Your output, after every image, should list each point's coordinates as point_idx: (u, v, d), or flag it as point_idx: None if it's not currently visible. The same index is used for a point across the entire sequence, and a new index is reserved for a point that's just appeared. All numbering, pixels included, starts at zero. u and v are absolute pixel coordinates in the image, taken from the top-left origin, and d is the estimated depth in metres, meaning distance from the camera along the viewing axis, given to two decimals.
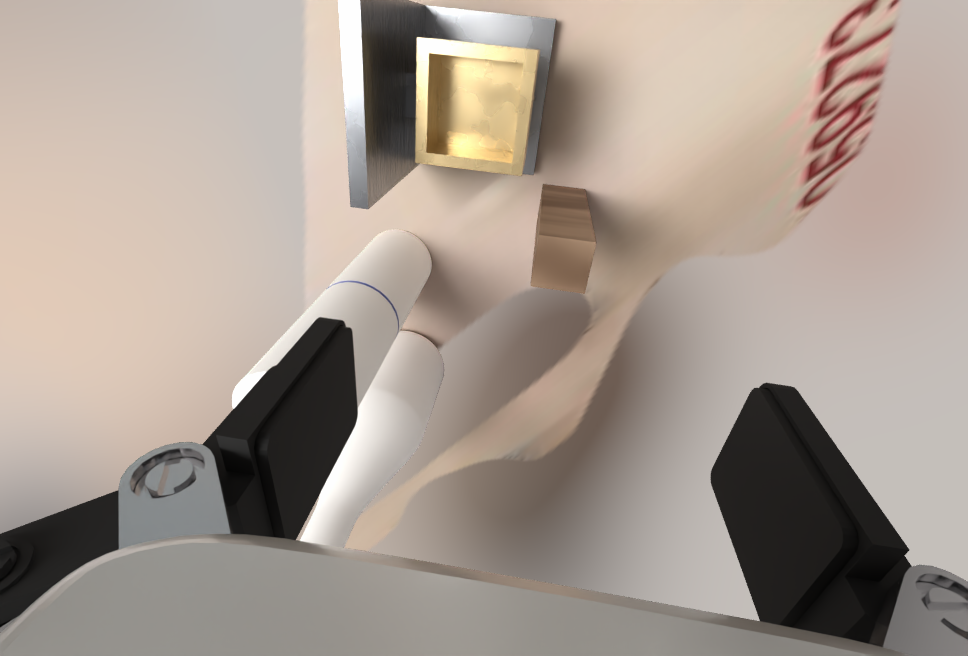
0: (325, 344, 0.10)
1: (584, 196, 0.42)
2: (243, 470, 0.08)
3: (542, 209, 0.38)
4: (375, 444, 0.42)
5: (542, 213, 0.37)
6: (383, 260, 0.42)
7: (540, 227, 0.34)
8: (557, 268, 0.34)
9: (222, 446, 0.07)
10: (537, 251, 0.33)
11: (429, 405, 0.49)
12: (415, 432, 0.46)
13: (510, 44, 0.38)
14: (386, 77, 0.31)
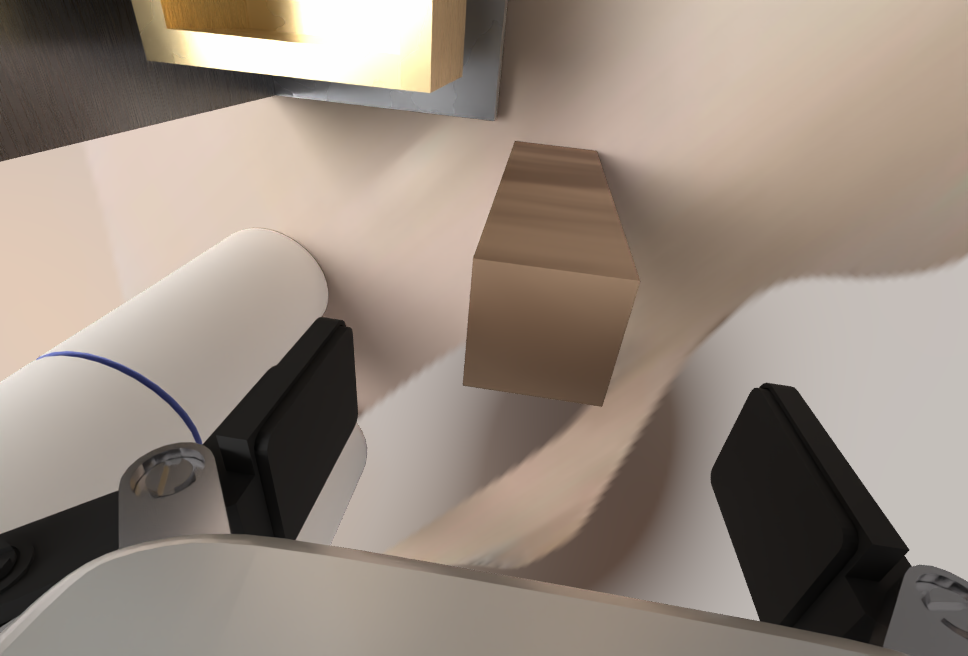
0: (325, 344, 0.10)
1: (596, 163, 0.21)
2: (243, 470, 0.08)
3: (501, 188, 0.16)
4: None
5: (499, 197, 0.15)
6: (190, 294, 0.21)
7: (484, 234, 0.13)
8: (530, 347, 0.12)
9: (222, 446, 0.07)
10: (473, 302, 0.12)
11: (322, 534, 0.28)
12: None
13: None
14: None
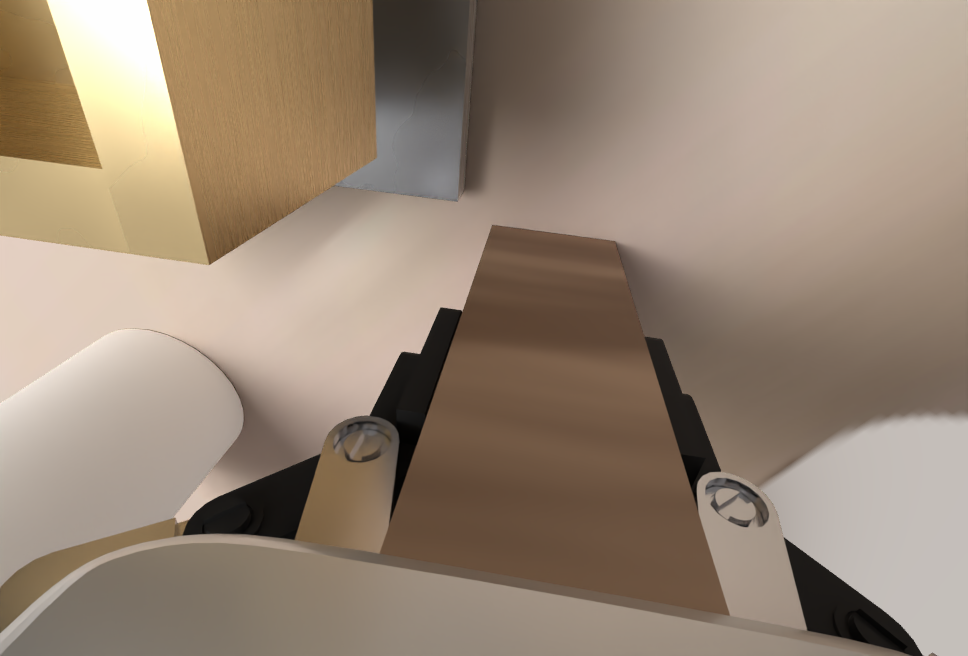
0: (454, 331, 0.11)
1: (617, 273, 0.13)
2: (414, 441, 0.08)
3: (449, 370, 0.09)
4: None
5: (438, 408, 0.08)
6: None
7: None
8: None
9: (399, 419, 0.08)
10: None
11: None
12: None
13: None
14: None
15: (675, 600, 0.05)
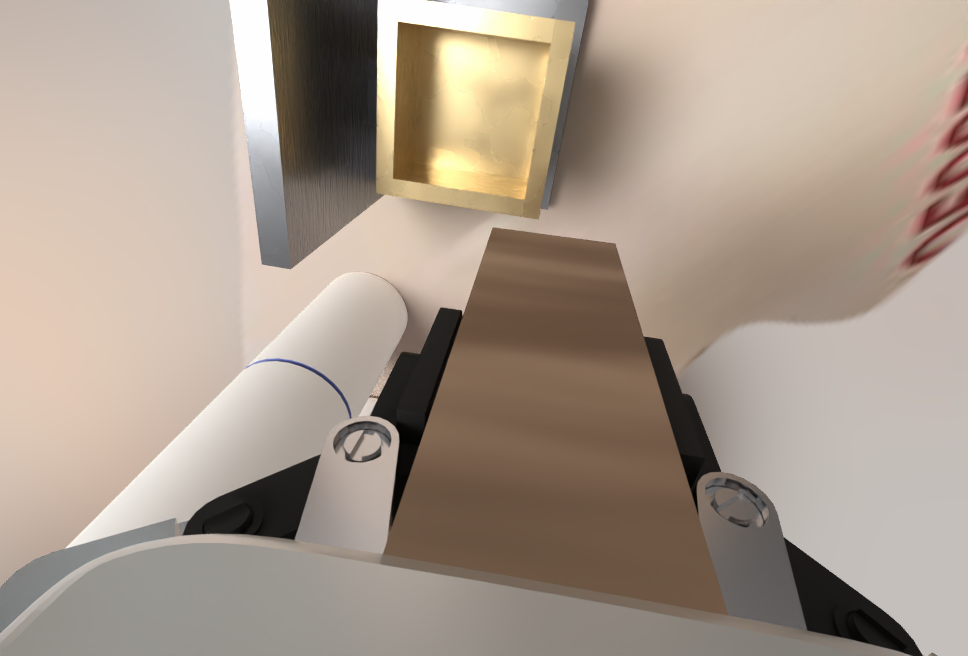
0: (455, 332, 0.11)
1: (617, 275, 0.13)
2: (414, 441, 0.08)
3: (450, 374, 0.09)
4: None
5: (440, 412, 0.08)
6: (336, 322, 0.30)
7: None
8: None
9: (399, 419, 0.08)
10: None
11: None
12: None
13: None
14: (326, 57, 0.19)
15: (675, 604, 0.05)
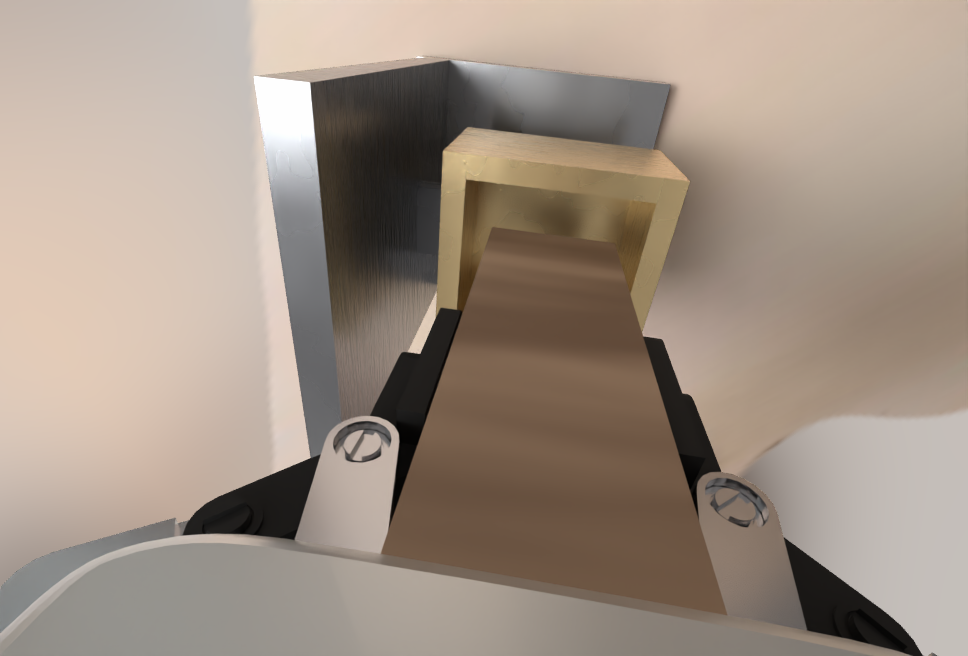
0: (454, 331, 0.11)
1: (617, 275, 0.13)
2: (414, 441, 0.08)
3: (449, 373, 0.09)
4: None
5: (438, 411, 0.08)
6: None
7: None
8: None
9: (399, 419, 0.08)
10: None
11: None
12: None
13: (588, 122, 0.23)
14: (381, 224, 0.16)
15: (674, 604, 0.05)
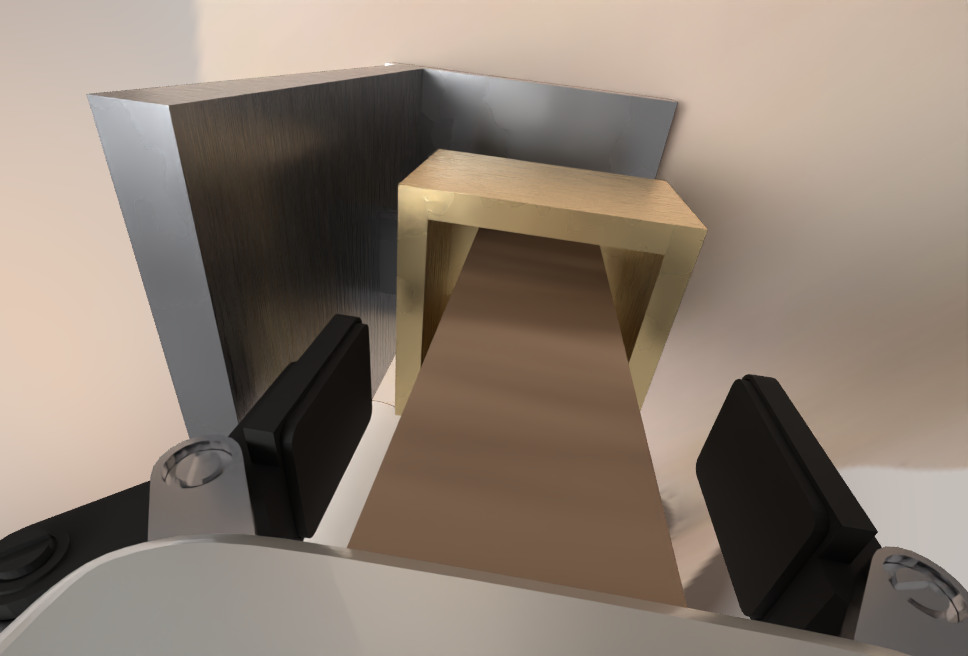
0: (343, 340, 0.10)
1: (598, 265, 0.14)
2: (268, 462, 0.08)
3: (438, 342, 0.09)
4: None
5: (427, 373, 0.08)
6: (342, 501, 0.24)
7: (358, 535, 0.06)
8: None
9: (248, 438, 0.08)
10: None
11: None
12: None
13: (583, 143, 0.20)
14: (321, 273, 0.12)
15: (626, 530, 0.06)
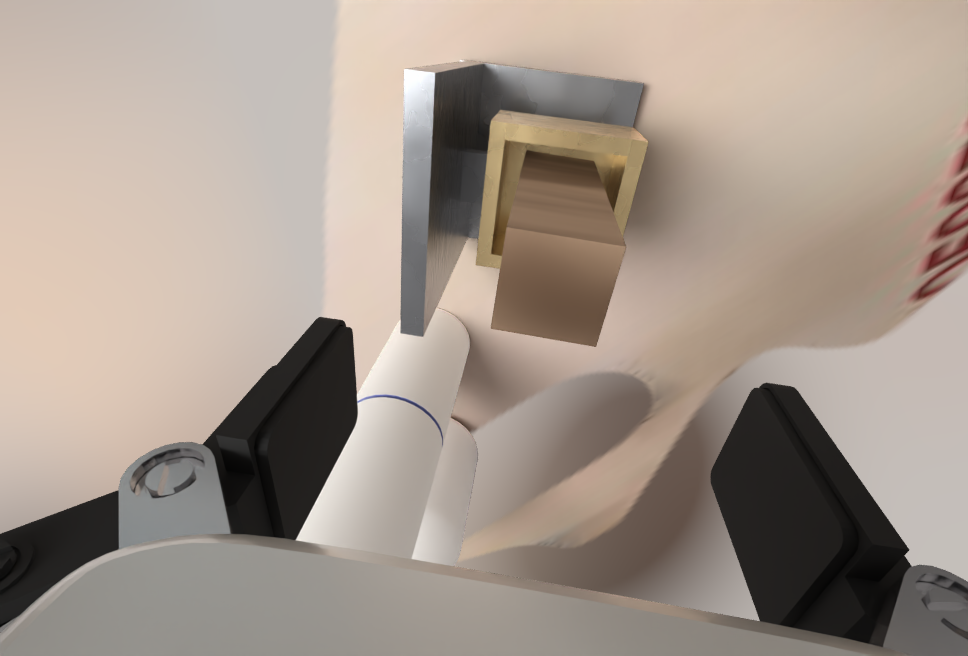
0: (325, 344, 0.10)
1: (593, 169, 0.25)
2: (243, 470, 0.08)
3: (520, 184, 0.21)
4: None
5: (519, 190, 0.20)
6: (422, 358, 0.35)
7: (512, 213, 0.17)
8: (544, 297, 0.17)
9: (222, 446, 0.07)
10: (504, 261, 0.16)
11: (466, 510, 0.42)
12: (453, 553, 0.39)
13: (584, 110, 0.31)
14: (448, 169, 0.24)
15: (602, 221, 0.18)
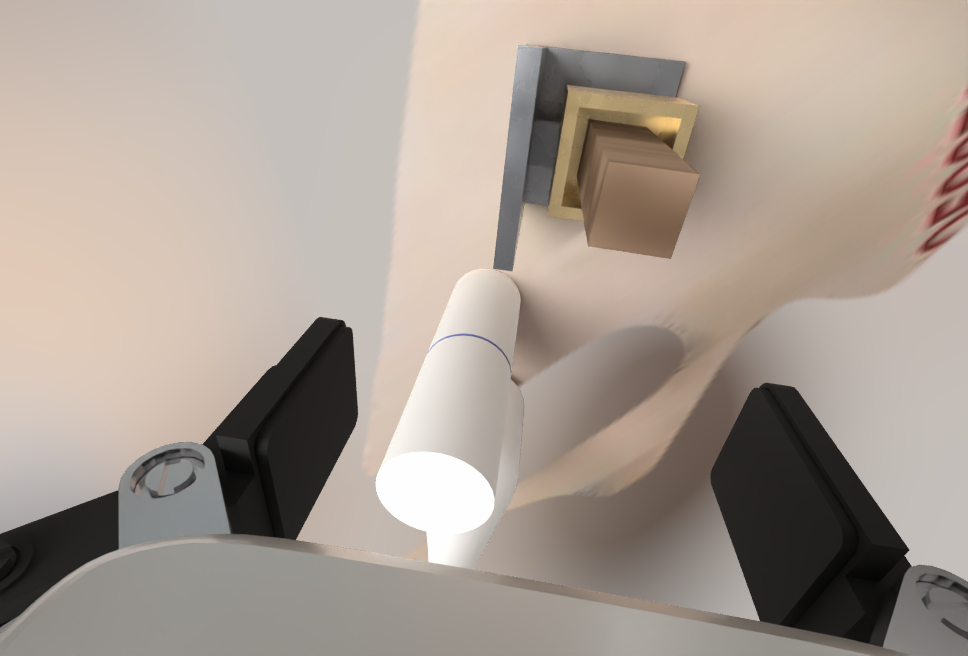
0: (325, 344, 0.10)
1: (650, 132, 0.30)
2: (243, 470, 0.08)
3: (600, 138, 0.26)
4: None
5: (602, 142, 0.25)
6: (488, 307, 0.41)
7: (607, 154, 0.22)
8: (633, 218, 0.22)
9: (222, 446, 0.07)
10: (604, 189, 0.21)
11: (519, 450, 0.48)
12: (513, 482, 0.44)
13: (633, 86, 0.36)
14: (532, 131, 0.29)
15: (674, 161, 0.23)
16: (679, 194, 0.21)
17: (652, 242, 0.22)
